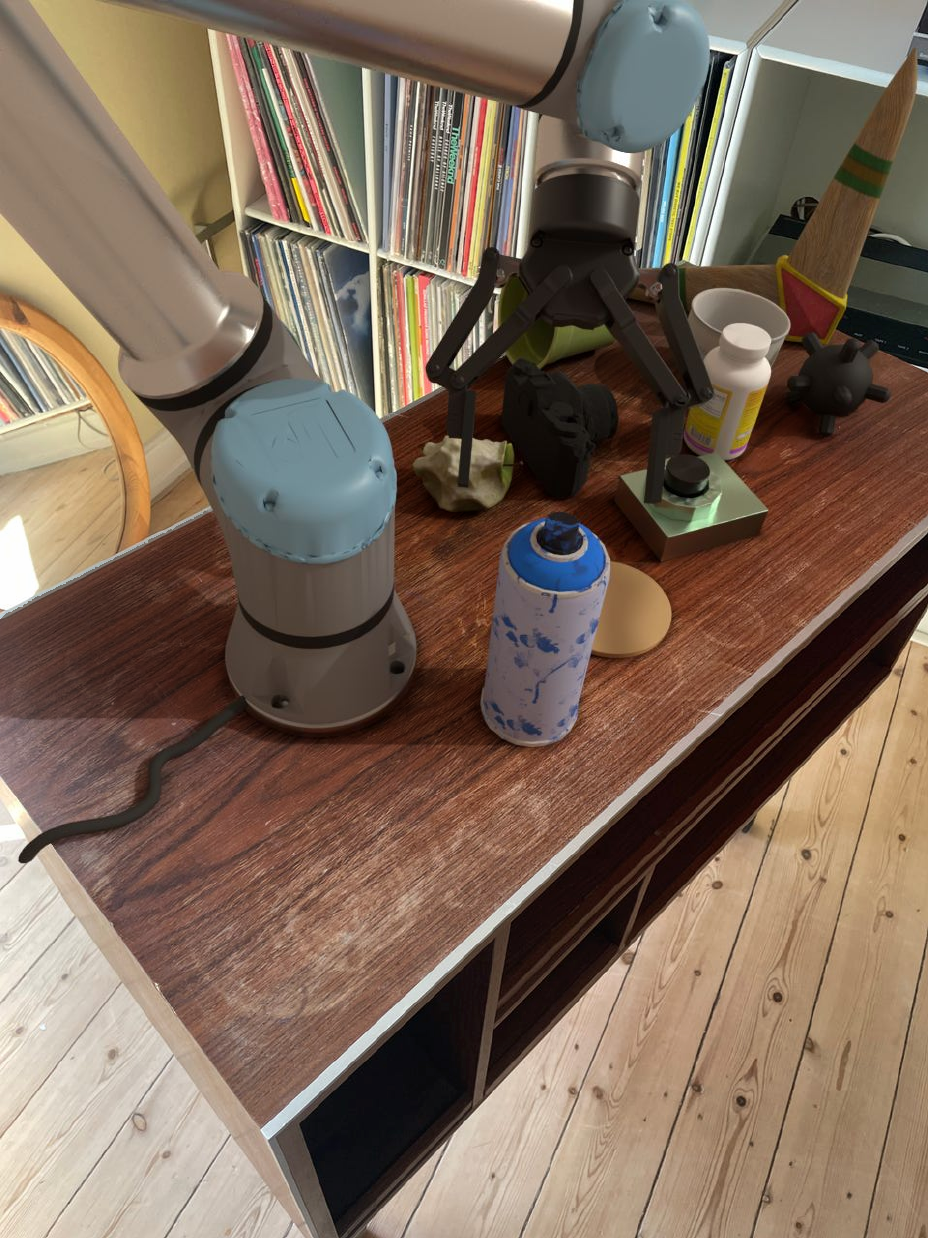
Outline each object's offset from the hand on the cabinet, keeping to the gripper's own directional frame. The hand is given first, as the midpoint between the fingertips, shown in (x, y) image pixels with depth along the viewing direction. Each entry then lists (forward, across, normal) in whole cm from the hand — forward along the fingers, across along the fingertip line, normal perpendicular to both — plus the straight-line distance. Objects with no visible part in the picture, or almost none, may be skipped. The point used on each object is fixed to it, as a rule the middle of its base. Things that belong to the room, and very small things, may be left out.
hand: (557, 494), depth 67 cm
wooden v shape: (-37, +23, +24) cm, 49 cm away
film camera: (-7, +3, +30) cm, 31 cm away
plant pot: (-24, +8, +42) cm, 49 cm away
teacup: (-17, +21, +41) cm, 49 cm away
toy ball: (-20, +32, +39) cm, 54 cm away
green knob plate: (-1, +15, +24) cm, 28 cm away
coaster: (+8, +7, +15) cm, 18 cm away
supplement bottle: (-9, +19, +33) cm, 39 cm away
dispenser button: (-3, +13, +20) cm, 24 cm away
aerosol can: (+16, 0, +7) cm, 18 cm away
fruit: (-1, -7, +25) cm, 26 cm away
